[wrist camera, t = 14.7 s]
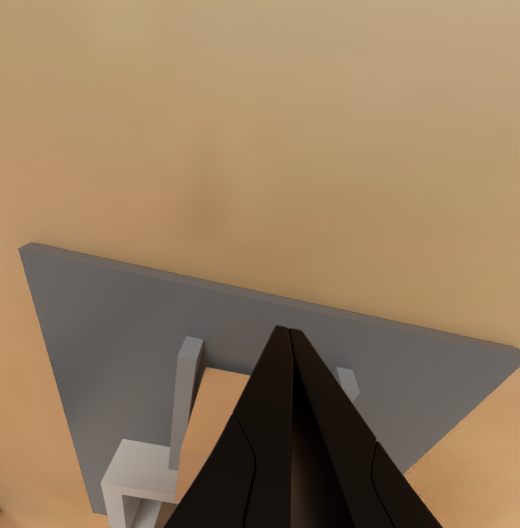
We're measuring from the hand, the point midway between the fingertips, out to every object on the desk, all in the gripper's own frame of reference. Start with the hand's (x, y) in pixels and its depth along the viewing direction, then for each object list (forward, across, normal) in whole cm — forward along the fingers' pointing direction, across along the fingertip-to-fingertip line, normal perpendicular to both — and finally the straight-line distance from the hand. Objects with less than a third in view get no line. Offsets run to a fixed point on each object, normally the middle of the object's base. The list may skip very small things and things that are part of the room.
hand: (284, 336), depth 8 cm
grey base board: (+2, 0, +12) cm, 12 cm away
